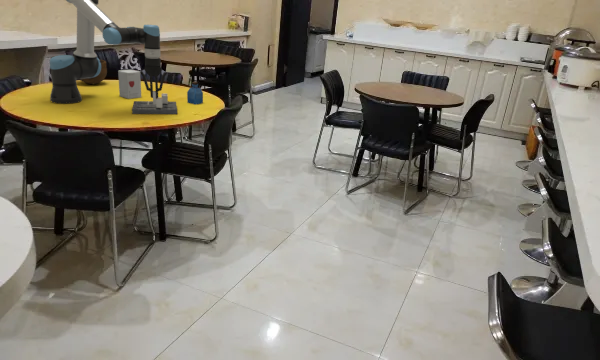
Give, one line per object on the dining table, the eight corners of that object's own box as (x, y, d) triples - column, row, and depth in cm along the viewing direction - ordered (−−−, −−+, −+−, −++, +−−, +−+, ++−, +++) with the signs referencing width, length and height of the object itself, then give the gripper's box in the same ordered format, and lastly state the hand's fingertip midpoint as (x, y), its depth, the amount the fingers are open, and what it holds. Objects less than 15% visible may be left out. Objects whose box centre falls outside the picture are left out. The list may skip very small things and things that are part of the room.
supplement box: (128, 99, 262) (126, 72, 256) (119, 96, 266) (117, 70, 261) (142, 97, 269) (140, 71, 263) (132, 94, 273) (131, 69, 268)
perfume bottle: (195, 104, 261) (195, 83, 257) (187, 102, 264) (187, 81, 260) (202, 103, 266) (202, 82, 262) (195, 101, 269) (194, 80, 265)
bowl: (101, 87, 285) (99, 63, 279) (70, 85, 284) (68, 61, 279) (113, 82, 302) (111, 59, 297) (84, 80, 302) (82, 57, 296)
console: (132, 113, 232) (132, 109, 231) (134, 105, 248) (133, 100, 247) (177, 114, 238) (177, 109, 237) (176, 105, 255) (175, 101, 254)
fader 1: (156, 107, 236) (155, 99, 234) (156, 105, 240) (156, 97, 238) (162, 107, 236) (162, 99, 235) (162, 105, 241) (162, 97, 239)
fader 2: (161, 103, 245) (161, 95, 244) (161, 101, 250) (161, 93, 248) (167, 103, 246) (167, 95, 244) (167, 101, 250) (167, 93, 249)
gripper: (138, 57, 223) (141, 105, 232) (166, 58, 227) (167, 105, 235) (139, 55, 230) (141, 102, 239) (166, 57, 234) (167, 102, 242)
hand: (154, 104), depth 237 cm, fingers closed
